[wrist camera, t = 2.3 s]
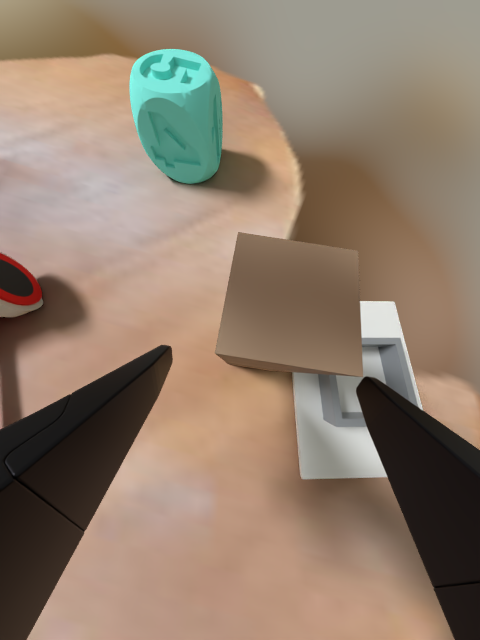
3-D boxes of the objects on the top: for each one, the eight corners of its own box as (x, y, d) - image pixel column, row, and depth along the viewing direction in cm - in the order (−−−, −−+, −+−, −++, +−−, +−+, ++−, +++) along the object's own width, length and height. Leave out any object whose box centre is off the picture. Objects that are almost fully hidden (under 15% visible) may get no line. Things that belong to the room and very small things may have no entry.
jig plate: (433, 472, 15) (471, 491, 13) (300, 475, 15) (313, 496, 12) (390, 303, 20) (412, 294, 17) (286, 302, 19) (293, 292, 17)
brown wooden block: (268, 370, 17) (363, 376, 5) (228, 364, 17) (214, 353, 5) (272, 331, 18) (357, 250, 6) (235, 325, 18) (238, 232, 6)
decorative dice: (213, 189, 23) (203, 100, 16) (155, 179, 23) (117, 87, 16) (224, 149, 25) (220, 54, 18) (171, 141, 26) (144, 43, 18)
